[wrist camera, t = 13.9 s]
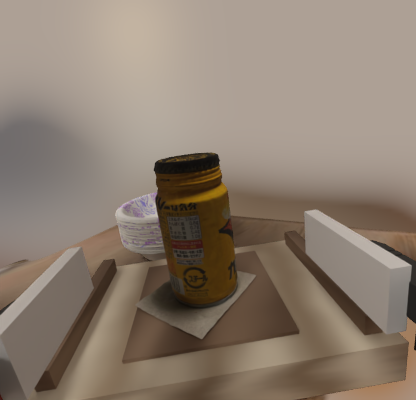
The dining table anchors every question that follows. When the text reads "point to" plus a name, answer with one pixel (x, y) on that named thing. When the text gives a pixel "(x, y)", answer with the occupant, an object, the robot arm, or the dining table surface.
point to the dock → (224, 338)
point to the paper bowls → (141, 227)
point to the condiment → (195, 245)
